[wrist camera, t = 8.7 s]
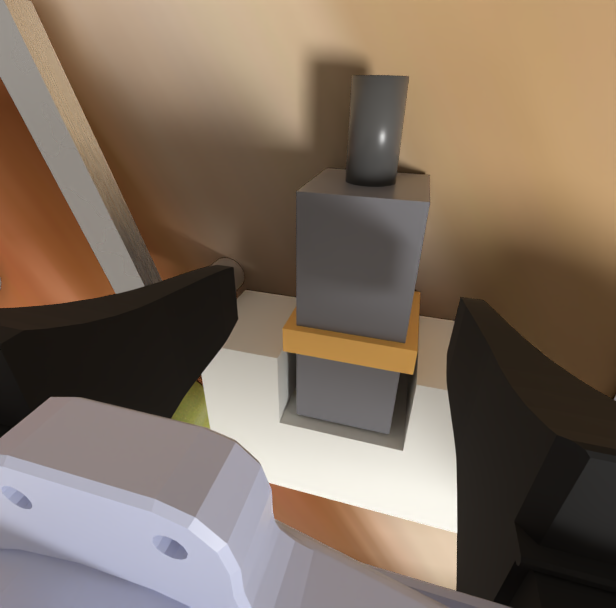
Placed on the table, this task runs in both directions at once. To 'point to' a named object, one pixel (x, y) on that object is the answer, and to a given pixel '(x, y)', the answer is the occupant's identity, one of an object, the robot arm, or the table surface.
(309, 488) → the socket block
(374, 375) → the plug
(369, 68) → the table surface
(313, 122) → the table surface
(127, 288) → the flat metal lever
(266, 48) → the table surface
